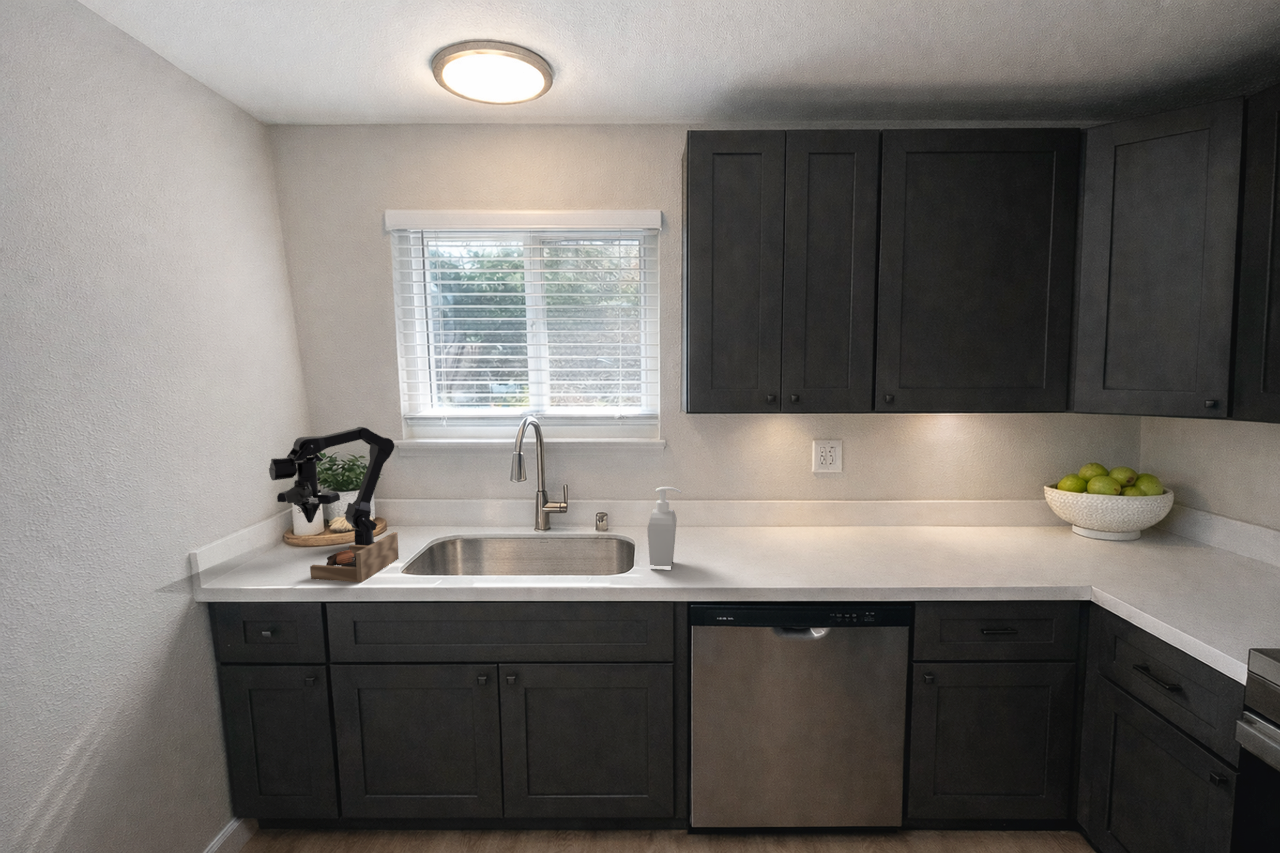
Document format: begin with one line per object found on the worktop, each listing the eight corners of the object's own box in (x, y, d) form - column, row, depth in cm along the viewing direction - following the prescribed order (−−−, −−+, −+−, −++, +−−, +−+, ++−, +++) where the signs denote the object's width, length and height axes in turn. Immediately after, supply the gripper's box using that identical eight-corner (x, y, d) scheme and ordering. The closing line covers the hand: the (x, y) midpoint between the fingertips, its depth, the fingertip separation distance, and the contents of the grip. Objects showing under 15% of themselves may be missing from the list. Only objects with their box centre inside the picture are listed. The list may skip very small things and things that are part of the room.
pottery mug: (327, 583, 185) (320, 557, 187) (334, 586, 193) (327, 561, 195) (369, 568, 189) (362, 542, 190) (374, 571, 197) (367, 547, 199)
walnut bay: (352, 556, 207) (350, 530, 206) (398, 558, 205) (397, 532, 204) (310, 579, 186) (309, 550, 185) (361, 582, 184) (360, 553, 183)
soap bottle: (679, 573, 193) (680, 492, 190) (646, 571, 194) (647, 491, 191) (681, 560, 205) (682, 483, 202) (651, 558, 206) (651, 482, 203)
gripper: (263, 480, 195) (266, 528, 197) (317, 482, 192) (320, 531, 194) (287, 473, 206) (290, 518, 208) (339, 475, 203) (342, 521, 205)
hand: (310, 522), depth 203 cm, fingers closed
